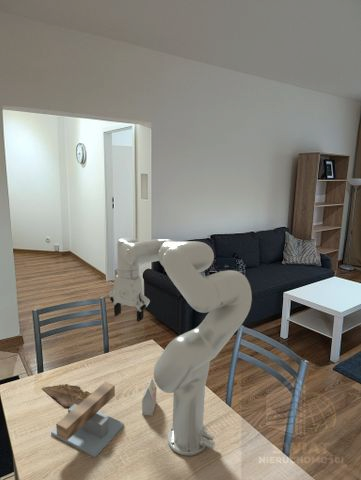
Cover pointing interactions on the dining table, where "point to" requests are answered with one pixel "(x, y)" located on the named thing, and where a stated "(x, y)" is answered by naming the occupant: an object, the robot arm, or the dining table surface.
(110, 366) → the dining table surface
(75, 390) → the wooden fragment
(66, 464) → the dining table surface
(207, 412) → the dining table surface
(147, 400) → the grey pointed block
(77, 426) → the walnut bar
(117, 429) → the ridge stand
